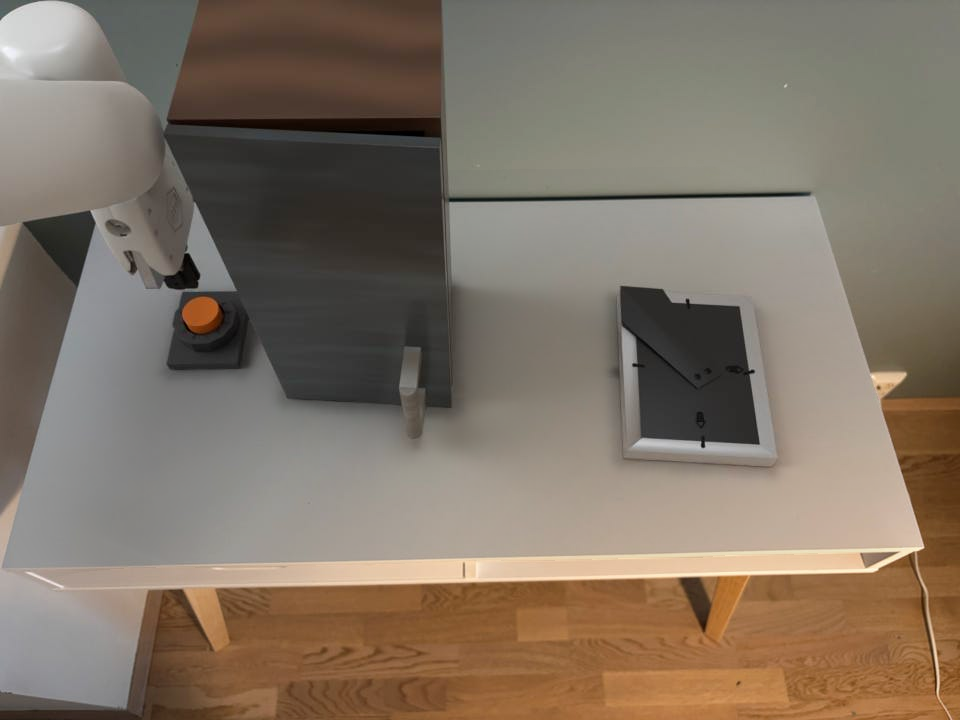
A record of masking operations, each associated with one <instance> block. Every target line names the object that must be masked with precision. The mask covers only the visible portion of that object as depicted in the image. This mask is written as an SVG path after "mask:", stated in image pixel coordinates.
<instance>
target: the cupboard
mask: <svg viewBox="0 0 960 720" xmlns="http://www.w3.org/2000/svg"><path fill="white" fill-rule="evenodd" d="M193 16H194V17H193V21H192V23H191V28H190V31H189V35H188V38H187V42H186V46H185V50H184V54H183V57H182V60H181V65H180V68H179V72H178V76H177V79H176V82H175V87H174V90H173V94H172V97H171V101H170V104H169V109H168V112H167V116H166V119H165V120H166V122H167V124H171V125H191V126H211V127H231V128H252V129H272V130H292V131H312V132H332V133H352V134H372V135H392V136H412V137H432V138H441V153H442V175H443V198H444V220H445V243H446V265H447V288H448V310H449V333H450V355H451V378H452V387H453V385H454V384H453V383H454V380H453V375H454V373H453V368H454V367H453V276H452V275H453V273H452V250H451V249H452V247H451V244H452V243H451V218H450V217H451V215H450V187H449V186H450V185H449V164H448V163H449V160H448V135H447V130H448V129H447V107H446V106H447V103H446V77H445V76H446V75H445V51H444V50H445V49H444V48H445V46H444V45H445V44H444V23H443V22H444V20H443V0H198V2H197V5H196V9H195V12H194V15H193Z"/></svg>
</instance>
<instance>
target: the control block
mask: <svg viewBox="0 0 960 720" xmlns="http://www.w3.org/2000/svg"><path fill="white" fill-rule="evenodd" d="M198 297H209V298H212V299H214V300H215V301H216V302H217V304H218V306H219V308H220V310H221V311H222V314H223V320H222V323H221V325H220V326H219V327H218V328H217V329H216V330H214V331H213V332H211V333H208V334H197V333H194V332H192V331H191V330H190V329H189V327H188V326H187V324H186V323H185V321H184V319H183V316H182V312H183V309H184V307H185V305H186V304H187V303H188V302H189V301H191V300H193V299H195V298H198ZM249 319H250V318H249V316H248V314H247V312H246V310H245V307H244V305H243V303H242V301H241V299H240V297H239V295H238V292H237V290H229V291H228V290H225V291H224V290H221V291H219V290H218V291H216V290H215V291H213V290H212V291H182V292H181V295H180V301H179V305H178V308H177V309H176V310H175V311H174V315H173V320H172V328H173V332H172V337H171V341H170V345H169V350H168V355H167V359H166V366H167V367H168V369H169V370H204V369H205V370H206V369H207V370H208V369H211V370H212V369H215V370H216V369H217V370H218V369H241V366H242V361H243V354H244V348H245V342H246V336H247V329H248V322H249Z"/></svg>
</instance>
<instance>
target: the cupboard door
mask: <svg viewBox="0 0 960 720" xmlns="http://www.w3.org/2000/svg"><path fill="white" fill-rule="evenodd" d="M163 135H164V137H165V142H166V144H167V146H168V148H169V150H170V152H171V154H172V156H173V159H174V161H175V162H176V163H175V164H176V166H177V168H178V170H179V172H180V174H181V175H182V177H183V179H184V181H185V183H186V185H187V187H188V189H189V191H190V193H191V195H192V197H193V200H194V204H195V206H196V207H197V209H198V212H199V214H200V216H201V219H202V220H203V222H204V225H205V226H206V229H207V231H208V233H209V235H210V237H211V239H212V241H213V243H214V246H215V247H216V250H217V253H218V254H219V257H220V258H221V261H222V262H223V265H224V268H225V269H226V271H227V273H228V276H229V277H230V280H231V282H232V284H233V286H234V288H235V291H237V292H238V295H239V297H240V299H241V301H242V303H243V305H244V307H245V310H246V312H247V314H248V316H249V318H248V319H249V320H250V322H251V324H252V327H253V329H254V331H255V333H256V335H257V337H258V340H259V341H260V344H261V346H262V348H263V350H264V352H265V355H266V356H267V359H268V361H269V363H270V364H271V367H272V369H273V371H274V373H275V376H276V378H277V380H278V382H279V384H280V386H281V388H282V390H283V393H284V395H285V397H286V398H287V399H299V400H318V401H319V400H320V401H322V400H323V401H335V402H336V401H337V402H352V403H353V402H354V403H355V402H356V403H372V404H373V403H374V404H387V405H389V404H390V405H401V407H402V414H403V418H404V425H405V431H406V435H407V437H408V438H409V439H411V440H415V441H416V440H419V439H420V438H421V437H422V436H423V431H424V422H425V412H426V406H427V407H443V408H452V407H453V386H452V378H451V355H450V333H449V310H448V288H447V265H446V243H445V220H444V198H443V175H442V153H441V138H432V137H412V136H392V135H372V134H352V133H332V132H312V131H292V130H272V129H252V128H231V127H211V126H191V125H171V124H168V123H167V124H166V127H165V128H164V134H163Z"/></svg>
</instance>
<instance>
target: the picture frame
mask: <svg viewBox="0 0 960 720" xmlns="http://www.w3.org/2000/svg"><path fill="white" fill-rule="evenodd" d="M619 288H620V289H618V292H617V296H616V316H617V317H616V319H617V320H616V321H617V343H618V345H617V347H618V366H619V386H620V387H619V390H620V391H619V392H620V409H621V410H620V411H621V412H620V413H621V436H622V437H621V439H622V458H623V459H629V460H646V461H648V460H649V461H666V462H679V463H696V464H697V463H699V464H713V465H715V464H716V465H732V466H748V467H749V466H750V467H765V468H772V467H773V466H774V465H775V463H777V461H778V460H779V457H778V451H777V445H776V444H777V443H776V439H775V432H774V425H773V419H772V413H771V406H770V400H769V394H768V388H767V380H766V374H765V368H764V361H763V356H762V355H763V354H762V349H761V344H760V343H761V342H760V336H759V331H758V330H759V329H758V323H757V317H756V311H755V305H754V297H753V296H747V295H727V294H708V293H690V292H689V293H688V292H671V291H665V290H664V289H663V288H658V287H657V288H656V287H643V286H642V287H641V286H630V285H629V286H626V285H620V287H619Z"/></svg>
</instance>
